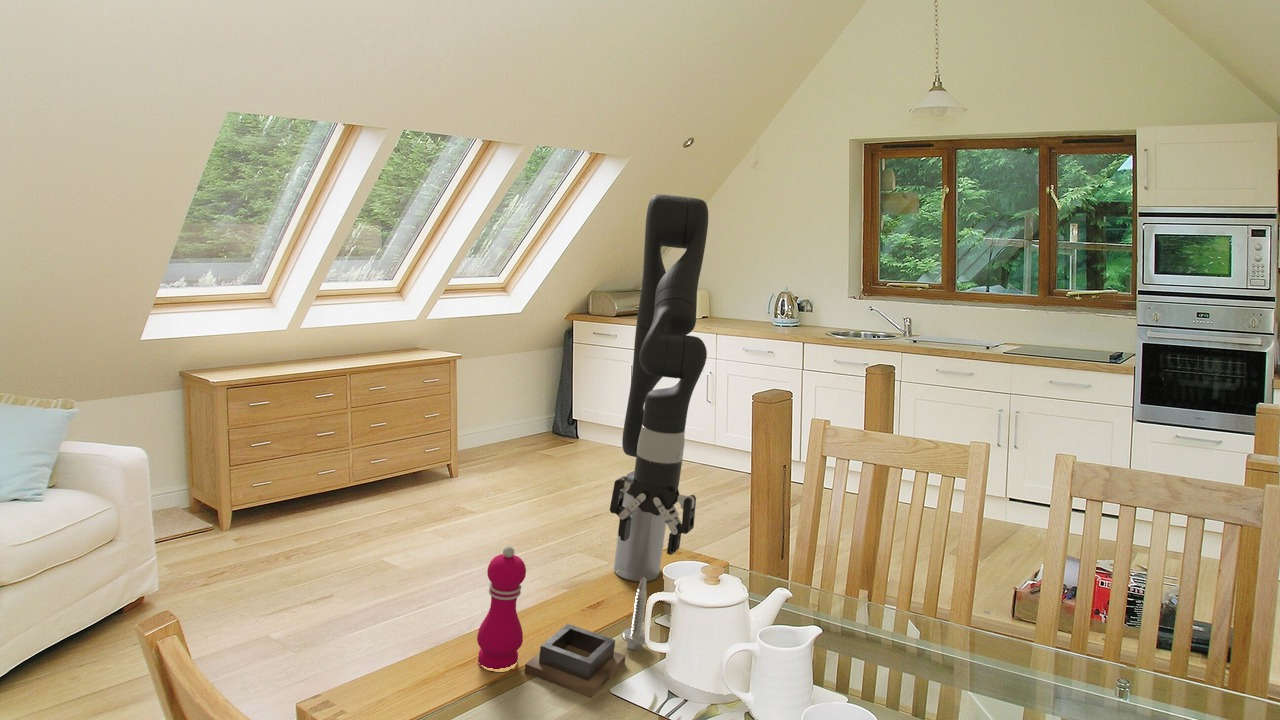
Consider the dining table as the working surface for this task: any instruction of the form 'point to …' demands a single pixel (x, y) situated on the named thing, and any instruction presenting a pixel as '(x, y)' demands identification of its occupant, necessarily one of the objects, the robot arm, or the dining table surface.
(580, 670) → the socket
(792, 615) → the dining table surface
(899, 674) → the dining table surface
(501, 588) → the pepper mill
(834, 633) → the dining table surface
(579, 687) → the walnut board
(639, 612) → the screw
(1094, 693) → the dining table surface
